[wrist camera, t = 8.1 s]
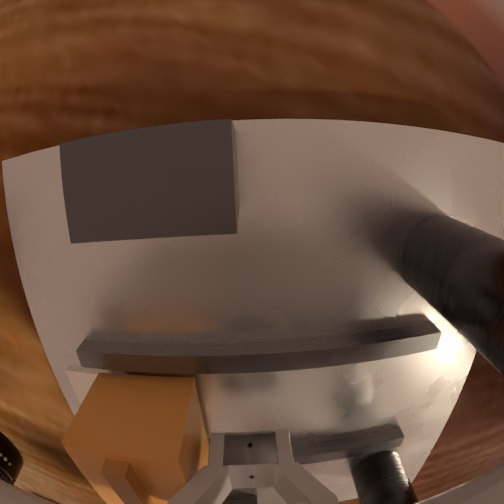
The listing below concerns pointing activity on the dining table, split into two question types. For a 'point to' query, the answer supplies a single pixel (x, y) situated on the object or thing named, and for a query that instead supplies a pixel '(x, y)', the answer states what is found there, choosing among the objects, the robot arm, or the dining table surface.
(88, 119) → the dining table surface
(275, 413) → the grey control board
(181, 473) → the block
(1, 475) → the supplement bottle
